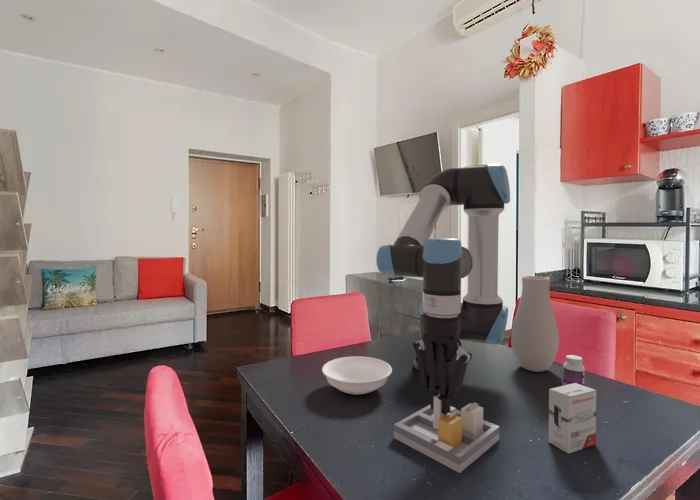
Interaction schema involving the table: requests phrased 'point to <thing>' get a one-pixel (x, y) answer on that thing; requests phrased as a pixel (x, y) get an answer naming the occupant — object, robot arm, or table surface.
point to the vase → (535, 326)
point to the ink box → (572, 417)
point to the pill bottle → (573, 371)
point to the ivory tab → (472, 419)
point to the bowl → (357, 374)
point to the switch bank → (425, 440)
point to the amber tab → (450, 429)
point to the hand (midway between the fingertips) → (440, 426)
